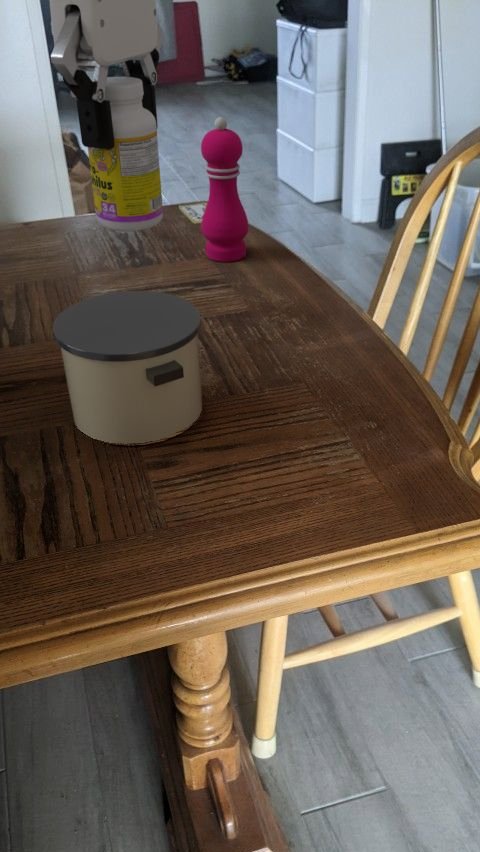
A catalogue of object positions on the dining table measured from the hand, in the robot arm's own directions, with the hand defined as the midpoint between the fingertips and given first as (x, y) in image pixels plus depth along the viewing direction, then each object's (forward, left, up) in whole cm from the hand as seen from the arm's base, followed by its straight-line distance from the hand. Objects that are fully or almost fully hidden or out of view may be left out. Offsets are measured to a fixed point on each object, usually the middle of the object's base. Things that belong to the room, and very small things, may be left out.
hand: (121, 136), depth 74 cm
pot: (-3, -4, -27) cm, 28 cm away
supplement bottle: (0, 0, -8) cm, 8 cm away
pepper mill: (+29, +30, -27) cm, 50 cm away
